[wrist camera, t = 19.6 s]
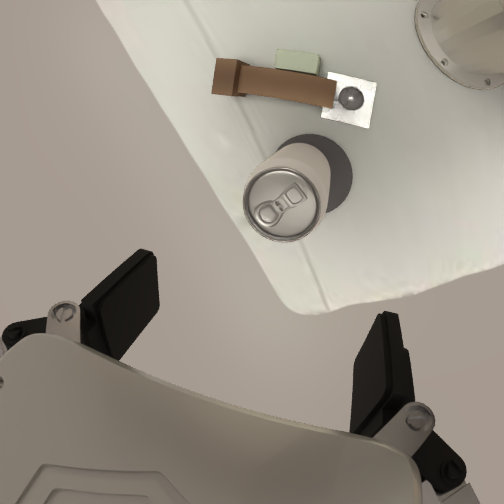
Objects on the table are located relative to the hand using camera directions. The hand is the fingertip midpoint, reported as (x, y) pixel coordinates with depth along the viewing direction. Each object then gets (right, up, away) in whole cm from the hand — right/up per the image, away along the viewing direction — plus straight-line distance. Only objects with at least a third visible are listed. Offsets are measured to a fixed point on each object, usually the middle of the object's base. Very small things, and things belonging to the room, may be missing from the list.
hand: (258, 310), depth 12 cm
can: (+5, +11, +20) cm, 23 cm away
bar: (+3, +19, +15) cm, 25 cm away
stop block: (+5, +21, +14) cm, 26 cm away
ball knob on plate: (+10, +18, +15) cm, 25 cm away
